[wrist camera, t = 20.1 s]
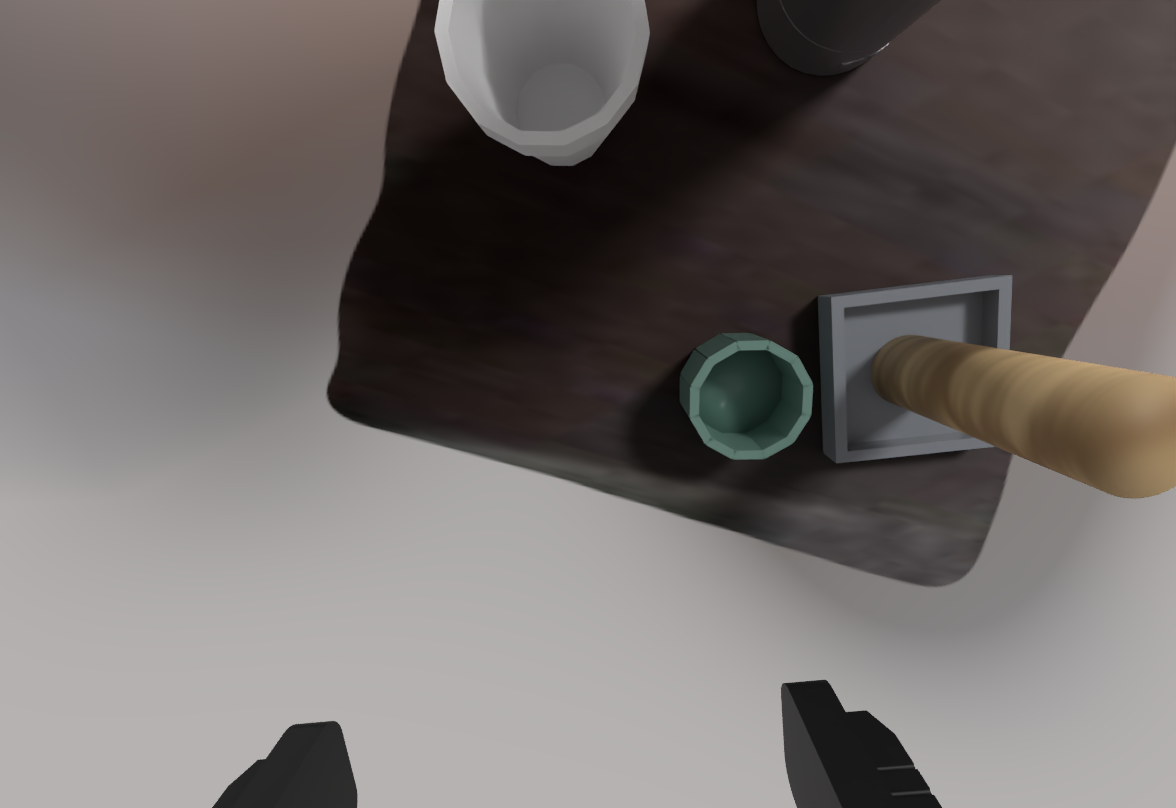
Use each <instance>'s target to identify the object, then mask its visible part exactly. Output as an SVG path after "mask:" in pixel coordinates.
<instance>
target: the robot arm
mask: <svg viewBox="0 0 1176 808" xmlns="http://www.w3.org/2000/svg"><path fill="white" fill-rule="evenodd" d="M939 1H941V0H757V15H758V19H759V23H760V27H761V31H762V33H763V35H764V37H765V39H766V41H767V43H768V45H769V46H770V48H771V49H772V50H773V51H774V53H775V54H776V55H777V57H779V58H780V59H781V60H782V61H783V62H785V63H786V64H787V65H788V66H790V67H792V68H794V69H796V70H798V71H800V72H803V73H807V74H812V75H817V76H824V75H836V74H840V73H843V72H847V71H850V70H852V69H854V68H856V67H858V66H859V65H861V64H863V63H864V62H866V61H867V60H868V59H869V58H871V57H872V56H874V55H875V54H877V53H878V52H880V51H881V50H882V49H883V48H885V47H886V45H888V44H889V43H890V42H891V41H893V40H894V39H895V38H896V37H897V36H898V35H899V34H901V33H902V32H903V31H904V30H905V29H907V28H908V27H909V26H910V25H912V24H913V23H914V22H915V21H916V20H918V19H919V18H920V17H921V16H922V15H924V14H925V13H926V12H927V11H929V10H930V9H931V8H932V7H933V6H935V5H936V4H937V3H938V2H939ZM781 699H782V717H783V735H784V752H785V762H786V768H787V774H788V779H789V783H790V787H791V791H792V794H793V797H794V800H795V803H796V805H797V808H942V807H941V805H940V804H939V802H938V800H937V799H936V797H935V796H934V795H932V794H931V792H930V788H929V786H928V785H927V783H926V782H925V780H924V779H923V777H922V776H921V774H920V772H919V771H918V770H917V769H915V767H914V763H913V762H912V760H911V758H910V757H909V756H908V754H907V752H906V751H905V749H904V747H903V746H902V744H901V743H900V741H899V740H898V738H897V737H896V735H895V734H894V733H893V732H892V731H891V730H889V729H888V728H887V727H886V726H885V725H883V724H882V723H881V722H880V721H879V720H877V719H876V718H875V717H874V716H872V715H871V714H870V713H869V712H868V711H856V712H845V710H844V708H843V707H842V705H841V703H840V701H839V699H838V698H837V696H836V694H835V692H834V691H833V689H832V687H831V685H830V684H829V683H828V681H826V680H817V681H805V682H795V683H783V684H782V687H781ZM212 808H357V789H356V784H355V780H354V776H353V772H352V768H351V764H350V760H349V756H348V752H347V749H346V745H345V741H344V737H343V733H342V729H341V727H340V725H339V724H338V723H337V722H335V721H328V722H317V723H305V724H295V725H292V726H291V727H289V728H288V729H287V730H286V731H285V733H284V734H283V735H282V737H281V738H280V740H279V741H278V742H277V744H276V745H275V747H274V748H273V750H272V751H271V753H270V754H269V755H268V757H267V758H266V759H263V760H257V761H256V762H255V763H254V764H253V765H252V766H251V767H250V768H248V770H246V771H245V772H244V773H243V774H242V775H241V776H240V777H238V778H237V779H236V780H235V781H234V782H233V783H231V784H230V785H229V786H228V787H227V789H226V790H225V791H224V793H223V794H222V795H221V797H220V798H219V799H218V801H217V802H216V803H215V805H214V806H213V807H212Z"/></svg>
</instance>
